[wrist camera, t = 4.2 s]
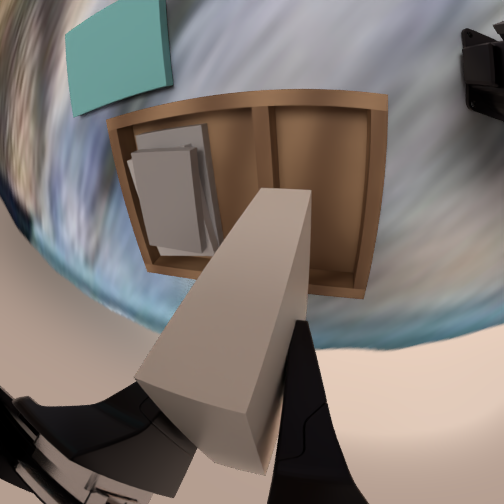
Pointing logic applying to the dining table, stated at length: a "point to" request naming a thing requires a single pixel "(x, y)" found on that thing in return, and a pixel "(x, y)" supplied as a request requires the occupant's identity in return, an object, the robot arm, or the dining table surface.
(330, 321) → the dining table surface
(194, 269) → the wooden divided tray
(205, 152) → the offcut stack
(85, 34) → the mat
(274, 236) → the beige rectangular block
